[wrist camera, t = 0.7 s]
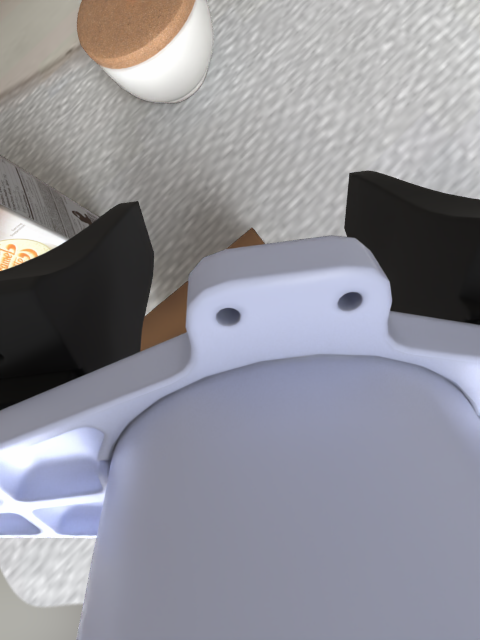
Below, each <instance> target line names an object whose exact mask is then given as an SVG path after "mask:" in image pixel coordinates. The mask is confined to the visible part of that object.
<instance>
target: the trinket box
mask: <svg viewBox="0 0 480 640" xmlns="http://www.w3.org/2000/svg"><path fill="white" fill-rule="evenodd" d="M77 32H78V37H79V41H80V43H81V46H82V47H83V49H84V50H85V51H86V53H87V54H88V55H89V56H90V57H91V58H92V59H93V60H94V61H95V62H96V63H97V64H99V65H100V67H101V68H102V69H103V70H104V71H105V72H106V73H107V74H108V75H109V77H111V78H112V79H113V80H114V81H115V82H116V83H117V84H118V85H119V86H121V87H122V88H123V89H124V90H126V91H127V92H129V93H130V94H132V95H134V96H136V97H138V98H140V99H142V100H145V101H149V102H154V103H177V102H180V101H183V100H185V99H187V98H188V97H190V96H191V95H193V94H194V93H195V92H196V91H197V90H198V88H199V87H200V86H201V85H202V83H203V81H204V79H205V77H206V74H207V71H208V66H209V63H210V60H211V56H212V51H213V40H214V36H213V24H212V18H211V13H210V9H209V6H208V2H207V0H82V2H81V5H80V8H79V12H78V18H77Z"/></svg>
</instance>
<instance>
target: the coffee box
mask: <svg viewBox="0 0 480 640" xmlns="http://www.w3.org/2000/svg"><path fill="white" fill-rule="evenodd" d="M98 218H100V217H98V216H96V215H95V214H93V213H92V212H90V211H88V210H87V209H85V208H84V207H82V206H80V205H79V204H77V203H76V202H74V201H73V200H71V199H69V198H68V197H66V196H65V195H63V194H62V193H60V192H58V191H57V190H55V189H54V188H52V187H50V186H49V185H47V184H46V183H44V182H42V181H41V180H39V179H38V178H36V177H34V176H33V175H32V174H30V173H28V172H27V171H25V170H24V169H22V168H20V167H19V166H17V165H16V164H14V163H13V162H11V161H9V160H8V159H6V158H5V157H3V156H1V155H0V271H2V270H5V269H8V268H11V267H14V266H16V265H19V264H21V263H23V262H26V261H28V260H30V259H33V258H35V257H37V256H39V255H42V254H44V253H46V252H48V251H50V250H51V249H53V248H55V247H57V246H59V245H61V244H62V243H64V242H66V241H67V240H69V239H70V238H72V237H73V236H75V235H76V234H78V233H79V232H80V231H82V230H83V229H85V228H86V227H88V226H89V225H90V224H92V223H93V222H94V221H96V220H97V219H98Z"/></svg>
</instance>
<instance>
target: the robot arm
mask: <svg viewBox="0 0 480 640" xmlns="http://www.w3.org/2000/svg"><path fill="white" fill-rule="evenodd" d="M344 229H345V232H346V235H347V237H341V236H332V235H331V236H323V237H316V238H308V239H300V240H293V241H285V242H277V243H270V244H262V245H254V246H247V247H239V248H231V249H225V250H222V251H220V252H217V253H214V254H212V255H209V256H206V257H204V258H202V259H201V261H200V262H199V263H198V264H197V265H196V267H195V268H194V269H193V270H192V271H191V272H190V274H189V280H188V292H187V310H186V330H187V332H186V333H184V334H181V335H179V336H177V337H174V338H172V339H169V340H167V341H165V342H162V343H160V344H157V345H155V346H153V347H150V348H148V349H146V350H143V351H141V352H140V349H141V336H142V327H143V321H144V316H145V311H146V307H147V302H148V297H149V293H150V288H151V283H152V278H153V268H154V251H153V248H152V245H151V242H150V238H149V235H148V232H147V229H146V225H145V222H144V219H143V216H142V212H141V209H140V206H139V203H138V201H136V202H129V203H121V204H118V205H116V206H115V207H113V208H112V209H110V210H109V211H108V212H106V213H105V214H104V215H102V216H101V217H100V218H98V219H97V220H96V221H94V222H93V223H92V224H90V225H89V226H88V227H86V228H85V229H83V230H82V231H80V232H79V233H78V234H76V235H75V236H73V237H72V238H70V239H69V240H67V241H66V242H64V243H62V244H61V245H59V246H57V247H55V248H53V249H51V250H50V251H48V252H46V253H44V254H42V255H39V256H37V257H35V258H33V259H30V260H28V261H26V262H23V263H21V264H19V265H16V266H14V267H11V268H8V269H5V270H2V271H0V538H5V537H30V538H96V542H95V547H94V553H93V558H92V563H91V568H90V573H89V578H88V583H87V588H86V593H85V599H84V604H83V609H82V614H81V620H80V624H79V629H78V635H77V640H480V200H479V199H472V198H466V197H461V196H456V195H451V194H446V193H442V192H438V191H434V190H431V189H427V188H424V187H420V186H417V185H414V184H411V183H408V182H405V181H402V180H399V179H397V178H394V177H391V176H388V175H385V174H382V173H378V172H374V171H361V172H354V173H349V184H348V195H347V205H346V216H345V226H344Z"/></svg>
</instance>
